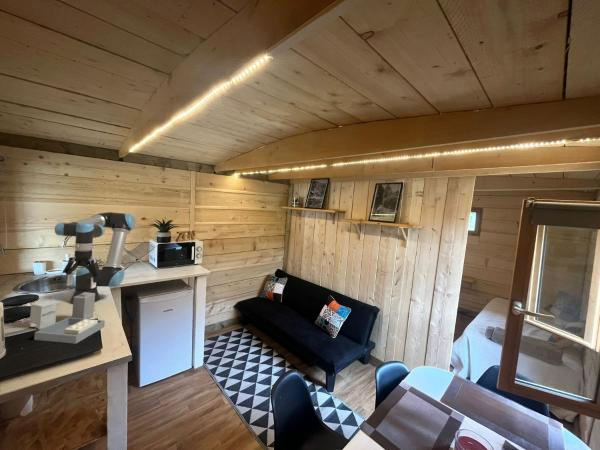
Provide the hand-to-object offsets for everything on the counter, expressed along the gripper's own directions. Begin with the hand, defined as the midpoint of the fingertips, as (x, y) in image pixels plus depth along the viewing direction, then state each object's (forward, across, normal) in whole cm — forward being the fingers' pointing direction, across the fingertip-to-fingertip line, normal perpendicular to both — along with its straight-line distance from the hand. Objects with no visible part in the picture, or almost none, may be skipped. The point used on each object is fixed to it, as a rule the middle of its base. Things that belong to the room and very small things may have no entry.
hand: (81, 286), depth 143 cm
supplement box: (+21, -13, -8) cm, 26 cm away
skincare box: (+21, +1, +1) cm, 21 cm away
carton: (+20, +13, -13) cm, 27 cm away
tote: (+21, +8, -14) cm, 26 cm away
